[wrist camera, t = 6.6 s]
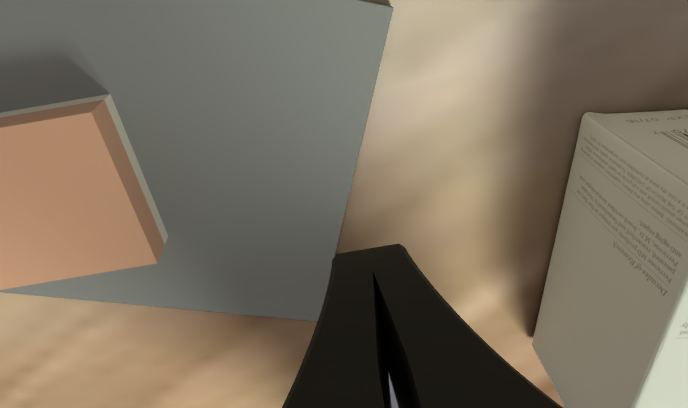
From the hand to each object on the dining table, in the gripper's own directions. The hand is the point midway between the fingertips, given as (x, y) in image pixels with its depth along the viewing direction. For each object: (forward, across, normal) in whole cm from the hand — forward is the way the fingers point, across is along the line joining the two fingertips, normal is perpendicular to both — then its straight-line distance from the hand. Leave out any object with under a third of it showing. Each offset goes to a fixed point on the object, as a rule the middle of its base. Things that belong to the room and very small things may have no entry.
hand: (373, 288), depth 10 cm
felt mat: (+10, +7, +1) cm, 12 cm away
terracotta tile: (+9, +8, +1) cm, 12 cm away
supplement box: (+6, -13, +2) cm, 14 cm away
